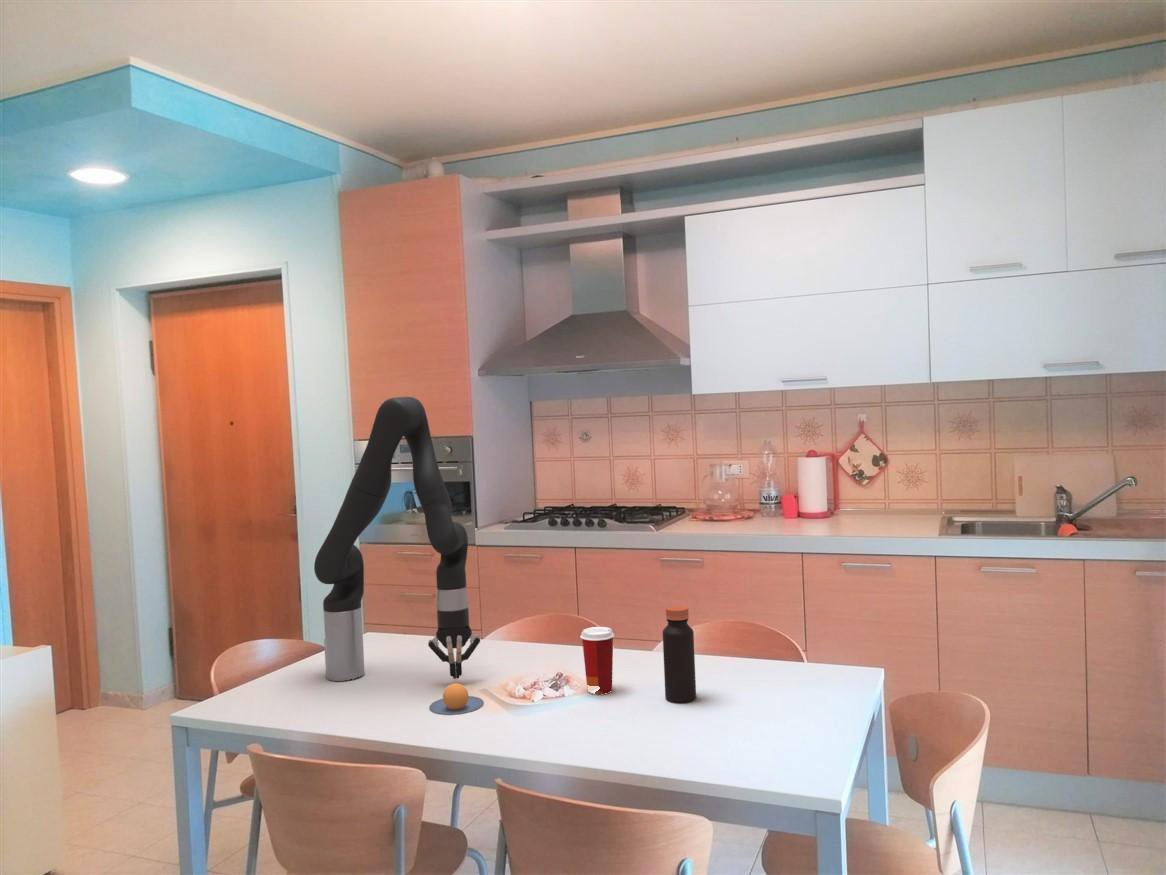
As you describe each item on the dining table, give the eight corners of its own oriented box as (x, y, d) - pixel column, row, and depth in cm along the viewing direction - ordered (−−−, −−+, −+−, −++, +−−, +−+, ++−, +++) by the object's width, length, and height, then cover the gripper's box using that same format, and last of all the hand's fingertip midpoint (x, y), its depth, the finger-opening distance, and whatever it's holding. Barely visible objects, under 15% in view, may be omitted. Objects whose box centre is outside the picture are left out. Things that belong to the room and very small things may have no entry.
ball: (437, 700, 190) (437, 690, 186) (457, 684, 193) (457, 674, 189) (453, 719, 188) (453, 709, 184) (473, 702, 191) (473, 692, 187)
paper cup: (617, 685, 200) (614, 625, 200) (615, 696, 193) (612, 634, 192) (584, 686, 201) (581, 626, 201) (580, 696, 193) (578, 634, 193)
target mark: (418, 707, 191) (418, 706, 191) (461, 693, 200) (461, 692, 200) (451, 718, 183) (451, 717, 183) (494, 703, 191) (494, 702, 191)
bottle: (695, 704, 185) (691, 611, 185) (663, 703, 187) (659, 611, 186) (697, 693, 192) (693, 604, 191) (667, 693, 193) (663, 604, 193)
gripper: (479, 600, 211) (483, 670, 212) (425, 605, 209) (428, 675, 210) (480, 607, 204) (484, 679, 204) (424, 611, 202) (427, 684, 202)
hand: (456, 677), depth 207 cm, fingers closed
